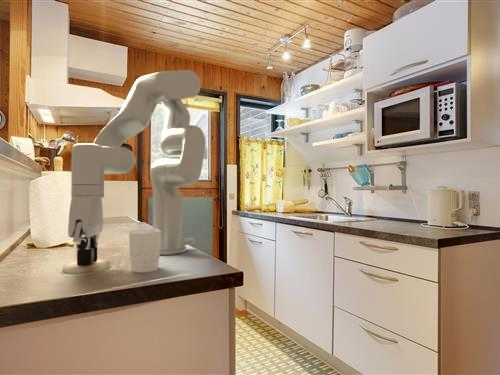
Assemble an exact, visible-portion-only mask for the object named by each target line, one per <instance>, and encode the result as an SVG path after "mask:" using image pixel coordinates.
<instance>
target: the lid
mask: <svg viewBox="0 0 500 375" xmlns="http://www.w3.org/2000/svg"><path fill="white" fill-rule="evenodd" d="M90 249H91V265H89V266H78V265H77V261H72V262H69V263H66V264H64V265H63V266H61V267H62V271H63V272H64V273H68V274H84V273H92V274H94V273H93V272H98V271H103V270H106V269H108V268H110V267H111V265H112V262H111V261H110V260H109V259H97V261H96V262H94V248H90Z"/></svg>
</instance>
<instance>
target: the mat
mask: <svg viewBox="0 0 500 375" xmlns="http://www.w3.org/2000/svg"><path fill="white" fill-rule="evenodd" d="M62 267H63V266H60V267H59V266H58V267H55V270H57V271H58V272H59V273H60V274H61V275H62V276H64V277H65V278H71V277H79V276H85V275H92V274H97V273H99V274H100V273H105V272H109V271H117V270H118V271H119V268H118V267H116V266H115V265H113V264H111V267H110V268H108V269H106V270H103V271H98V272H93V273H84V274H68V273H64V272H63V271H62Z"/></svg>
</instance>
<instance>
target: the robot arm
mask: <svg viewBox="0 0 500 375" xmlns="http://www.w3.org/2000/svg"><path fill="white" fill-rule="evenodd" d="M201 87H202V83H201V79H200V77H199V76H198V75H197V73H195V72H194V71H193V70H190V69H189V70H188V69H183V70H181V69H180V70H166V71H165V70H164V71H158V72H154V73H149V74H146V75H142V76H139V77H138V78H137V79H136V80H135V82H134V84H133V85H132V87H131V89H130V91H129V93H128V95H127V97H126V99H125V101H124V103H123V104H122V107H121V109H120V110H119V112H118V114H117V115H116V116H114V117H113V118H112V119H111V120H110V121H109V123H107V125H105V126H104V127H103V128H102V129H101V130H100V131H99V133H98V134H97V136H96V137H95V139H94V140H93V143H87V142H86V143H84V142H83V143H75V144H74V145H73V146H72V148H71V171H70V172H71V173H70V174H71V180H70V181H71V187H70V190H71V192H70V197H71V198H70V199H71V200H70V204H69V211H68V225H67V227H68V229H67V230H68V231H67V235H68V237H69V238H73V240H72V241H73V243H74V244H75V246H76V248H75V249H76V262H77V265H78V266H89V265H91V249H90V248H94V262H96V261H97V260H98V246H99V241H98V239H99V237H100V235H101V233H102V231H103V226H104V224H103V223H104V218H103V217H104V214H103V199H102V198H105V175H122V174H127V173H129V172H131V171H132V170H133V169H134V167H135V166H136V163H137V160H136V156H135V154H134V152H133V151H131V150H130V149H129V148H127V147H124V146H122V145H123V144H124V143H125V142H126V141H128V140H129V139H131V138H132V137H133V138H134V136H136V135H139V133H141V132H142V131H144V130H145V129H146V128H147V127H148V125H149V124H150V121H151V119H152V117H153V115H154V111H155V109H156V108H157V105H158V104H160V103H161V104H162V106H163V109H164V113H165V117H164V122H163V128H162V131H161V139H160V149H161V151H162V152H163V153H164V154H166V155H169V156H170V157H168V156H167V157H161V158H158V159H156V160H154V161H153V163H152V164H151V166H150V169H149V176H150V182H151V187H152V230H160V231H161V241H160V256H166V255H167V256H168V255H169V256H170V255H179V254H183V253H185V252H186V251H187V250H188V248H187V246H186V245H192V244H195V241H196V240H195V238H194V237H190V238H186V237H185V236H183V196H182V193H181V191H180V188H179V187H180V186H186V187H187V186H193V185H195V184H196V183H198V181H199V179H200V178H201V173H202V168H203V163H204V158H205V151H206V136H205V133H204V131H203V130H202V129H201V128H200V127H199V126H197V125H193V124H192V125H190V121H191V115H190V112H189V110H188V108H187V107H186V104H184V102H183V101H182V100H184V99H190V98H194V97H196V96H197V95H199V93H200V91H201Z"/></svg>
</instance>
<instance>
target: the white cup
mask: <svg viewBox="0 0 500 375" xmlns="http://www.w3.org/2000/svg"><path fill="white" fill-rule="evenodd" d="M160 241H161V231H160V230H153V229H135V230H130V231H128V250H129V261H130V272H132V273H133V272H134V273H149V272H154V271H157V270H159V265H160V256H161V255H160Z"/></svg>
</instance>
